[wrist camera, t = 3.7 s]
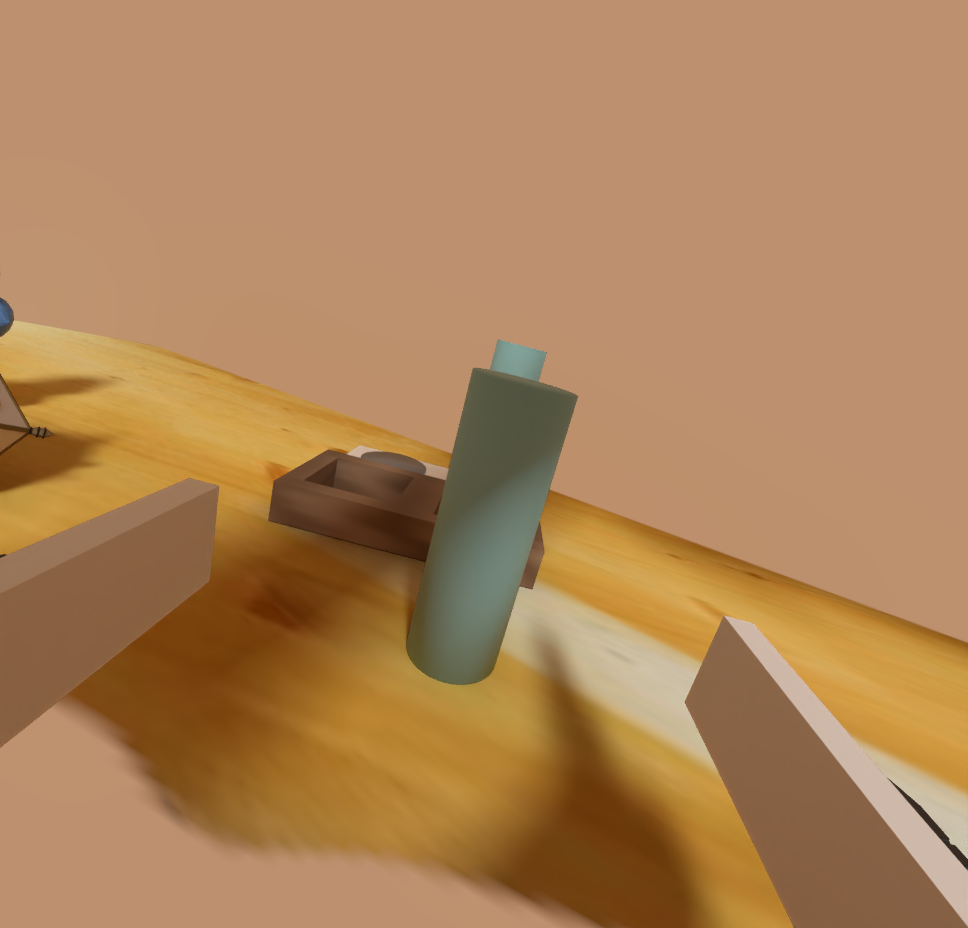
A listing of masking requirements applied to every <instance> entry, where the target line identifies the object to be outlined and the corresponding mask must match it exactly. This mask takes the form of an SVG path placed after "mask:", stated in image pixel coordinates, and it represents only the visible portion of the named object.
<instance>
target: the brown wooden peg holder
mask: <svg viewBox="0 0 968 928" xmlns="http://www.w3.org/2000/svg"><path fill="white" fill-rule="evenodd" d="M445 481H446V480H443V479H439V478H435V477H432V476H428V475H424V474H420V473H416V472H412V471H409V470H405V469H401V468H397V467H393V466H390V465H386V464H382V463H378V462H374V461H370V460H367V459H363V458H359V457H355V456H351V455H348V454H344V453H340V452H336V451H332V450H327V451H325V452H323V453H321V454H320V455H318V456H316V457H315V458H313V459H311V460H309V461H308V462H306V463H304V464H302V465H301V466H299V467H297V468H295V469H294V470H292V471H290V472H288V473H287V474H285V475H283V476H282V477H280V478H278V479H276V480H275V481H274V483H273V491H272V498H271V505H270V513H269V521H273V522H277V523H281V524H284V525H288V526H292V527H296V528H300V529H304V530H307V531H311V532H315V533H319V534H323V535H327V536H330V537H334V538H338V539H342V540H346V541H350V542H354V543H357V544H361V545H365V546H369V547H373V548H377V549H380V550H384V551H388V552H392V553H396V554H400V555H403V556H407V557H411V558H415V559H419V560H423V561H426V560H427V556H428V551H429V547H430V543H431V539H432V535H433V531H434V527H435V523H436V519H437V514H438V510H439V506H440V502H441V498H442V494H443V490H444V486H445ZM543 554H544V546H543V539H542V533H541V526H540V521H539V525H538V528H537V531H536V534H535V537H534V541H533V544H532V547H531V550H530V554H529V557H528V560H527V563H526V567H525V570H524V573H523V576H522V580H521V583H520V586H523V587H526V588H530V589H533V586H534V583H535V579H536V576H537V573H538V570H539V567H540V564H541V561H542V557H543Z"/></svg>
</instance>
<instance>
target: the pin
mask: <svg viewBox="0 0 968 928" xmlns="http://www.w3.org/2000/svg"><path fill="white" fill-rule="evenodd" d="M546 354H547V352H544V351H539V350H536V349H532V348H528V347H525V346H521V345H517V344H513V343H510V342H505V341H502V340H497V344H496V348H495V352H494V356H493V360H492V364H491V368H490V370H492V371H497V372H502V373H506V374H510V375H514V376H518V377H522V378H526V379H530V380H533V381H537V382H539V378H540V375H541V371H542V368H543V364H544V361H545V357H546Z"/></svg>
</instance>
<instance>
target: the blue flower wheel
mask: <svg viewBox="0 0 968 928" xmlns="http://www.w3.org/2000/svg"><path fill="white" fill-rule="evenodd" d="M13 321H14V316H13V310H12V309H11V307H10V306H9V304H8V303H7V302H6V301H5V300H3V299H2V298H0V337H1V336H3V335H4V334H5V333H6V332H7V331H9V330H10V328H11V326H12V324H13Z"/></svg>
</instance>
